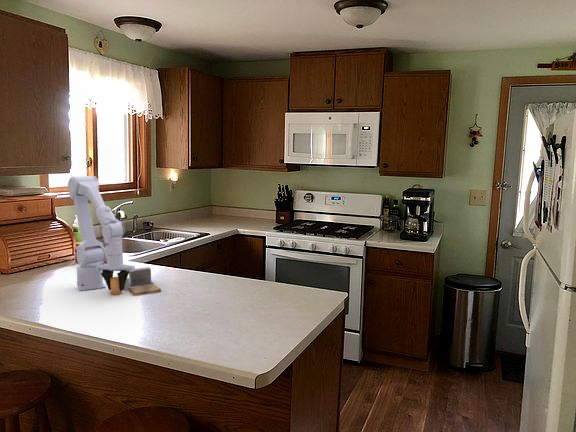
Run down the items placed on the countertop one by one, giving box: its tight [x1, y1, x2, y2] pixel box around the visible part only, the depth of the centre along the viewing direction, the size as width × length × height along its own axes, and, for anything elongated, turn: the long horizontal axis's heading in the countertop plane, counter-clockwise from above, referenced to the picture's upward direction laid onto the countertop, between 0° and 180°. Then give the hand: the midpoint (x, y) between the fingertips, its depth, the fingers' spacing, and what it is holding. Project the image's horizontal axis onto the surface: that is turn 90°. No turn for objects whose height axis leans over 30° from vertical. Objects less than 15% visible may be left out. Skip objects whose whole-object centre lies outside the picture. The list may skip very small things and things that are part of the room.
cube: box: [123, 276, 130, 291], centre depth 186 cm, size 4×4×4 cm
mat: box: [128, 283, 162, 297], centre depth 183 cm, size 10×9×1 cm
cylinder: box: [110, 276, 123, 296], centre depth 180 cm, size 4×4×6 cm
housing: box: [128, 266, 154, 287], centre depth 193 cm, size 9×4×6 cm, turn 120°
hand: (116, 289), depth 180 cm, fingers closed on cylinder, 4 cm apart
